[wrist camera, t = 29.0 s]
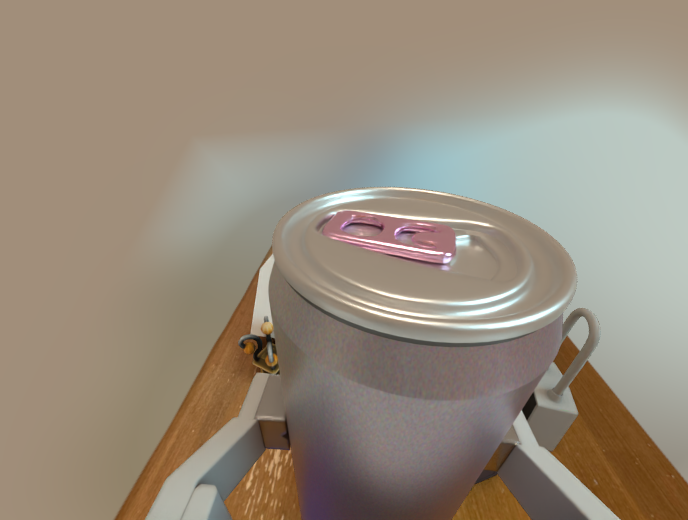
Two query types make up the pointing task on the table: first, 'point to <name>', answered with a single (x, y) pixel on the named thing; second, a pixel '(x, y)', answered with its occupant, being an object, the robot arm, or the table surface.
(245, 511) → the table surface
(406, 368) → the beverage can
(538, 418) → the padlock
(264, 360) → the black and orange candelabra
